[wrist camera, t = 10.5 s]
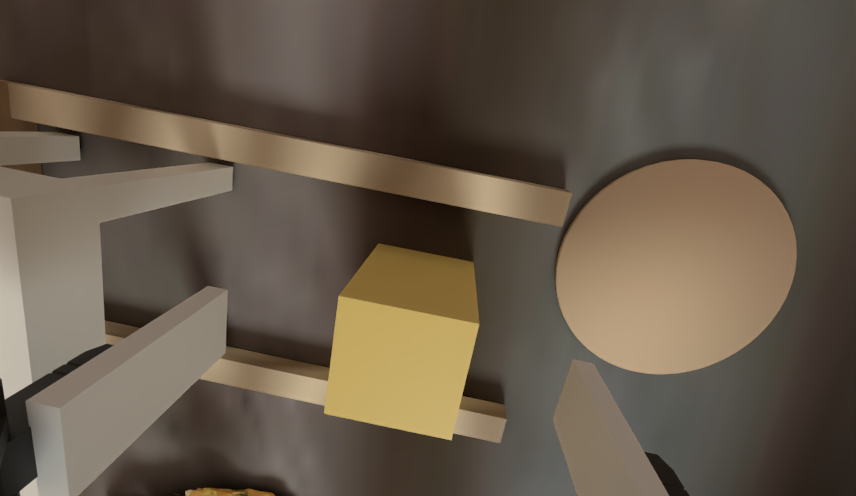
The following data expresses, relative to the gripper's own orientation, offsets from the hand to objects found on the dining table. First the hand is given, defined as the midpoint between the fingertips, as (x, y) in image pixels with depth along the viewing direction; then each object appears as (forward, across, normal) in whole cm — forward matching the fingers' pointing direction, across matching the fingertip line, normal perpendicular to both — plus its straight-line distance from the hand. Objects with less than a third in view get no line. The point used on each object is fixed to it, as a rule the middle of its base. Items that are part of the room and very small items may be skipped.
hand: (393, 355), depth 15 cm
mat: (+6, -12, -4) cm, 14 cm away
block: (+7, 0, 0) cm, 7 cm away
